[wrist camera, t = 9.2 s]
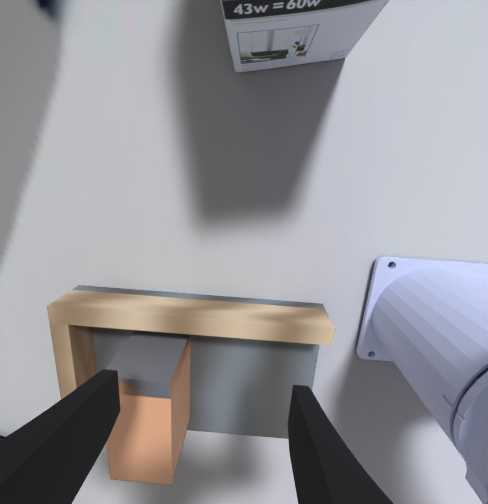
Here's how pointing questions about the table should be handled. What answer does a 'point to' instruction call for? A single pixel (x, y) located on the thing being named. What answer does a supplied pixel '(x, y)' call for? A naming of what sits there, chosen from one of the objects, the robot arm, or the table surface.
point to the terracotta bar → (150, 406)
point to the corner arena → (200, 349)
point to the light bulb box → (294, 30)
